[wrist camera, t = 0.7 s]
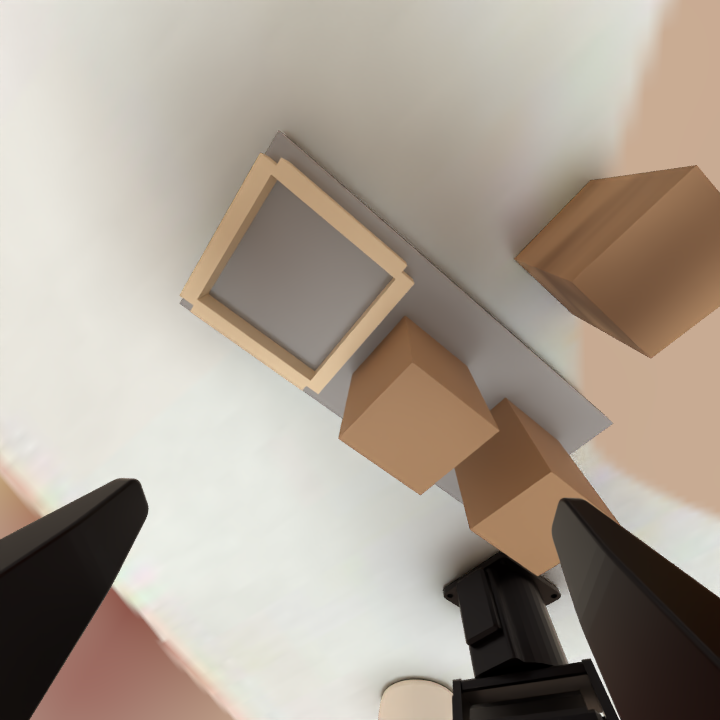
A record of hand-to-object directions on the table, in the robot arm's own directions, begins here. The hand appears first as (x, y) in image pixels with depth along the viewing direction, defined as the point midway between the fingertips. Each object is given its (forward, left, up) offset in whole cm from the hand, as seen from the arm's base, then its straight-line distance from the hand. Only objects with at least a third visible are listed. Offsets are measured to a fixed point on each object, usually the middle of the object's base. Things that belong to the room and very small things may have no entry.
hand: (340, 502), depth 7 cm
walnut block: (-6, -9, -13) cm, 17 cm away
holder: (-3, 0, -13) cm, 13 cm away
